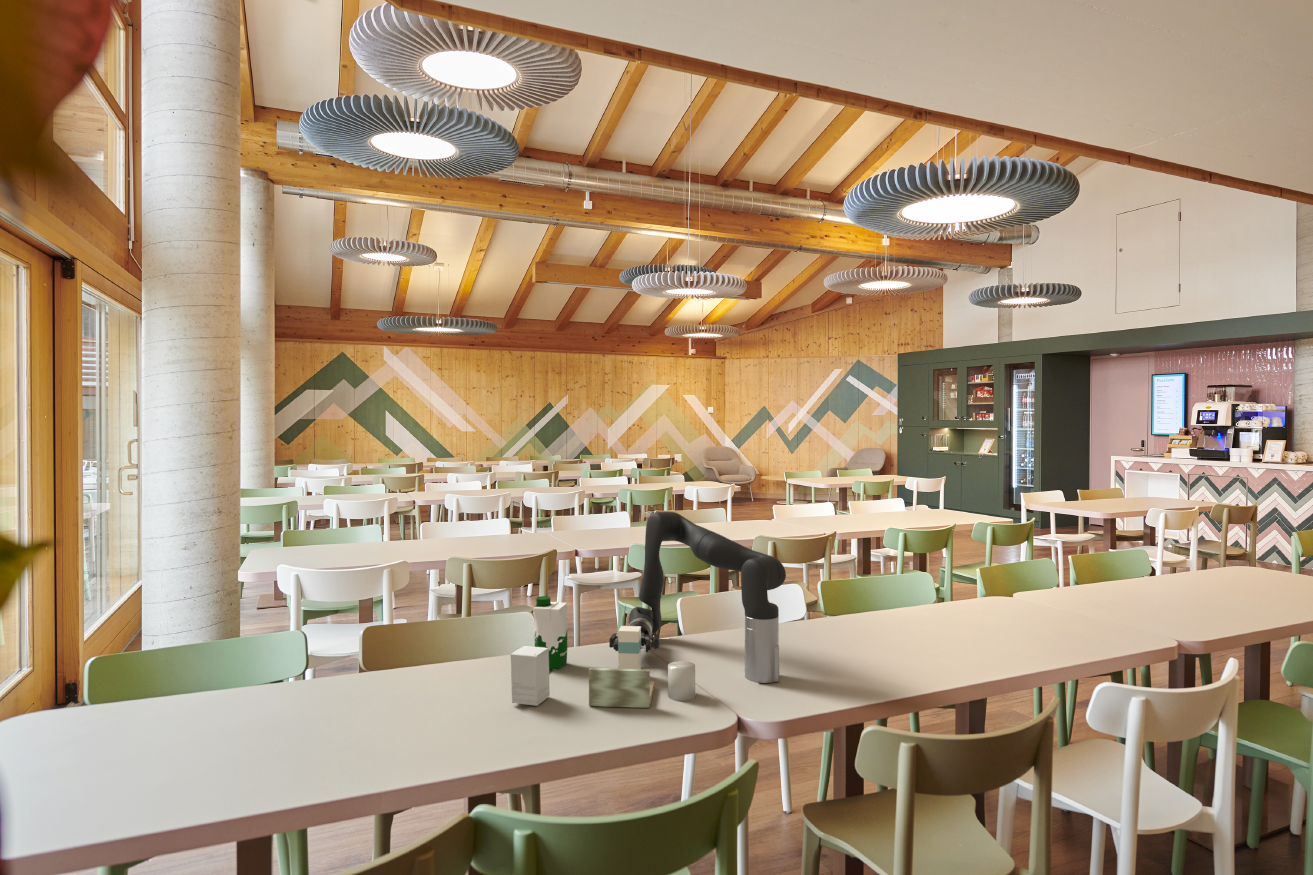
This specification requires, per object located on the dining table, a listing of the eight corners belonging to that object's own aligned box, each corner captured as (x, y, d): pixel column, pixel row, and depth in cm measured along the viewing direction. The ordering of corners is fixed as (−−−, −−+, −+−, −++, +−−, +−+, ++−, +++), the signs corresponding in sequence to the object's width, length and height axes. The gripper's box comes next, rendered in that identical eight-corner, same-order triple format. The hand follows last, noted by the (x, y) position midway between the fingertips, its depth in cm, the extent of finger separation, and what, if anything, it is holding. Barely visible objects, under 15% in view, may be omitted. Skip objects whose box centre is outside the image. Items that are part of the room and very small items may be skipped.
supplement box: (550, 695, 199) (549, 647, 198) (537, 706, 192) (536, 656, 191) (525, 692, 201) (524, 644, 201) (510, 703, 194) (509, 653, 194)
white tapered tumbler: (695, 691, 202) (695, 661, 202) (694, 701, 195) (694, 669, 195) (669, 691, 203) (668, 660, 203) (667, 700, 196) (666, 669, 196)
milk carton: (541, 660, 229) (540, 593, 228) (571, 662, 227) (570, 594, 226) (531, 670, 220) (530, 601, 219) (561, 672, 218) (560, 602, 217)
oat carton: (641, 676, 215) (641, 626, 215) (638, 683, 209) (638, 631, 209) (621, 675, 215) (621, 625, 215) (618, 682, 210) (618, 630, 210)
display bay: (654, 688, 205) (654, 654, 205) (649, 707, 191) (649, 671, 191) (598, 686, 206) (598, 653, 206) (589, 705, 192) (588, 669, 192)
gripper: (615, 619, 233) (606, 634, 217) (662, 621, 232) (657, 635, 215) (615, 644, 233) (606, 660, 217) (662, 646, 232) (657, 662, 216)
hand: (631, 648), depth 216 cm, fingers open, 8 cm apart
